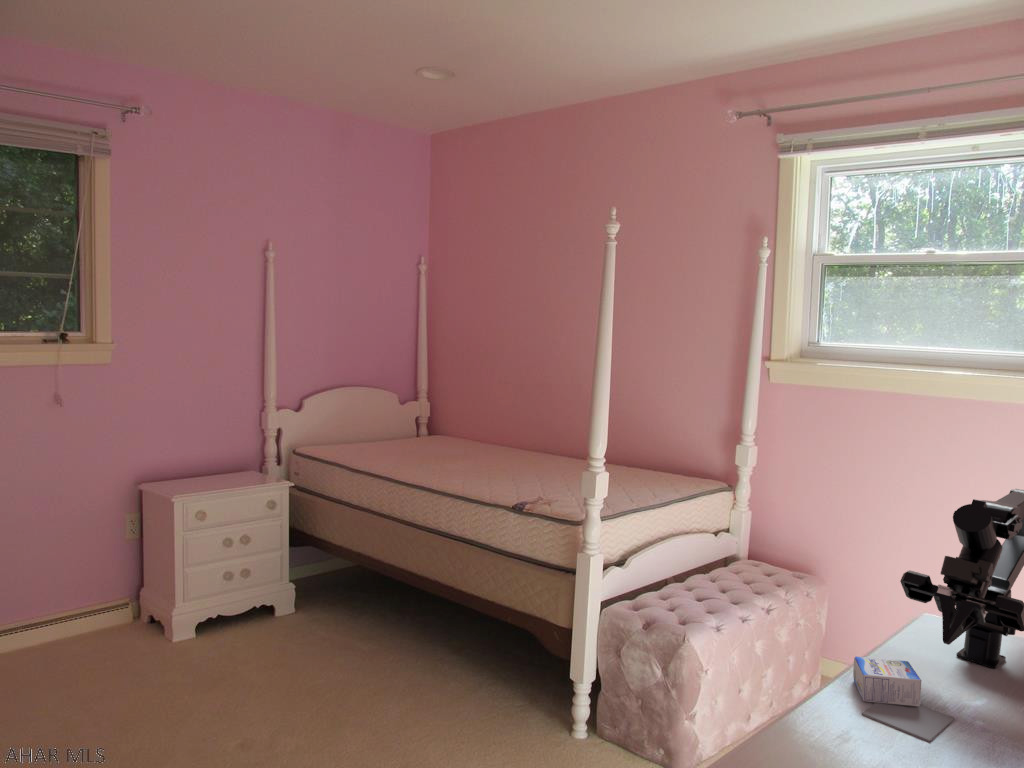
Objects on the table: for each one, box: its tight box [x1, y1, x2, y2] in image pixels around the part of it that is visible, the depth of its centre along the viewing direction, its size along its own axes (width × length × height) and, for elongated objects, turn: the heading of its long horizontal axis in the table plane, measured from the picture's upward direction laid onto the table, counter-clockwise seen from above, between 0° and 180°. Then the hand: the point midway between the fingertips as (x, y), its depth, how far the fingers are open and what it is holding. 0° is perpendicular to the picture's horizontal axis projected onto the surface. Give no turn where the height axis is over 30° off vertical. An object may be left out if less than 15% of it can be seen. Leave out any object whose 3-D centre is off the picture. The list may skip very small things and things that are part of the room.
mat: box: [861, 702, 956, 743], centre depth 128 cm, size 10×10×1 cm
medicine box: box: [852, 656, 922, 706], centre depth 135 cm, size 8×4×9 cm
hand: (945, 642), depth 136 cm, fingers closed
